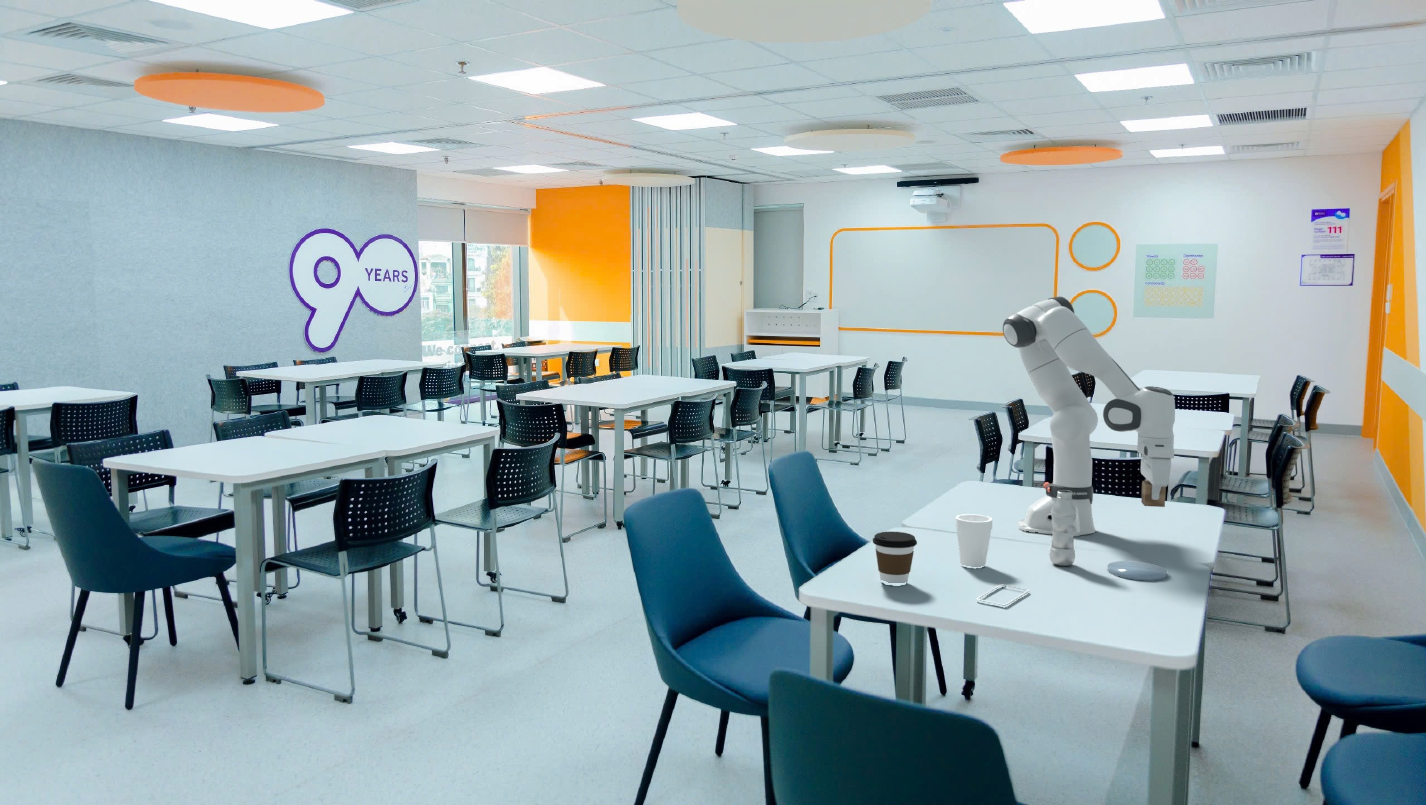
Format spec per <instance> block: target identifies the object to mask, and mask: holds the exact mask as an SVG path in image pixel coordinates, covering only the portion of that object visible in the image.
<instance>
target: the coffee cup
mask: <svg viewBox="0 0 1426 805" xmlns="http://www.w3.org/2000/svg"><path fill="white" fill-rule="evenodd" d="M873 536H874V537H873V538H872V544H874V545H875V554H876V555H875V556H876V562H877V567H878V572H879V578H880V581H881V580H883V581H886V582H888V583H905V582H907V583H908V581H909V574H910V572H911V570H912V563H913V558H914V552H915V551H914V547H915V546H917V545H918V541H917V539H916V537H915V535H913V534H911V533H908V532H902V531H882V532H878V533H875V534H874V535H873Z"/></svg>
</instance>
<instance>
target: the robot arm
mask: <svg viewBox="0 0 1426 805" xmlns="http://www.w3.org/2000/svg"><path fill="white" fill-rule="evenodd" d="M1002 334H1003V336H1004V338H1005V340H1006V342H1007V343H1008V344H1010V345H1011V346H1012V347H1014V348H1018V351H1019V354H1020V357H1021V360H1022V362H1023V365H1024V367H1025V370H1026V372H1027V374H1028V375H1029V378H1030V380H1031V381H1032V384H1033V386H1034V388H1035V390H1036V392H1037V394H1038V396H1040V398H1041V399H1042V400H1043V401H1044V403H1045V404H1046V405H1047V406H1048V408H1049V409H1050V410H1051V412H1052V413H1053V414H1052V416H1051V419H1050V421H1049V429H1050V434H1051V436H1050V437H1051V446H1052V452H1053V476H1052V477H1053V480H1052V483H1049V482H1048V481H1047V482H1044V483H1043V488H1044V489H1045V495H1044V496H1041V497H1040V498H1039V499H1037V500H1036V501H1034V502H1032V503H1031V504H1030V505H1029V506H1028V508H1027V510H1026V513H1025V518H1024V519H1023V518H1022V519H1020V520H1019V521H1018V522H1017V526H1019V527H1018V529H1019V530H1021V531H1023V530H1024V531H1023V532H1026V531H1029V532H1028V533H1035V532H1038V533H1037V534H1046V535H1053V523H1052V514H1051V510H1052V507H1053V505H1054V504H1055V503H1056V501H1057V500H1058V498H1057V492H1058V490H1067V491H1071V492H1072V499H1071V502H1072V503H1073V505H1074V506H1075V508H1076V511H1077V513H1076V519H1075V525H1074V531H1073V532H1074V535H1073V537H1079V536H1083V535H1090V534H1094V533H1095V532H1096V528H1095V525H1094V524H1095V523H1094V518H1093V511H1092V510H1093V508H1092V504H1093V501H1094V487H1093V485H1092V478H1093V458H1092V452H1091V451H1092V450H1091V440H1090V437H1091V434H1093V433H1094V431H1095V430H1096V429H1097V426H1098V423H1099V418H1098V413H1097V411H1096V409H1095V408H1094V407H1093V406H1092V404H1091V403H1090V401H1089V399H1088V398H1087V397H1086V395H1085V393H1084V392H1083V391H1082V389H1081V388H1080V387H1079V385H1078V384H1077V382H1076V381H1075V378H1073V375H1072V373H1071V372H1070V370H1074V371H1077V372H1081V373H1085V374H1087V375H1090V376H1093V377H1095V378H1097V379H1098V380H1099V381H1101V382H1102V383H1103V384H1104V385H1105V387H1106V388H1107V389H1108V390H1109V391H1110V392H1111V394H1113V396H1114V397H1115V398H1113V399H1111V400H1110V401H1108V402H1107V403H1106V404H1105V406H1104V407H1103V412H1102V416H1103V420H1104V423H1105V425H1106V426H1107V427H1108V428H1109V429H1110V430H1112V431H1115V432H1120V433H1127V432H1133V431H1136V432H1137V448H1136V449H1137V451H1136V452H1137V453H1139V454H1141V458H1140V473H1141V475H1142V476H1143V477H1144V478H1145V481H1149V482H1150V483H1151V484H1152V492H1151V498H1152V499H1153V500H1158V499H1159V493H1160V490H1161V487H1168V485H1169V483H1170V476H1171V468H1172V459H1174V458H1175V450H1174V447H1175V446H1174V444H1175V442H1174V441H1175V434H1174V430H1173V429H1174V424H1175V420H1176V404H1175V403H1176V402H1175V401H1176V400H1175V397H1174V394H1173V393H1172V391H1170V390H1169V389H1167V388H1164V387H1159V386H1153V385H1152V386H1144V387H1142V388H1139V387H1138V386H1137V384H1136V383H1135V382H1134V381H1133V380H1132V379H1131V378H1130V377H1129V375H1128V374H1127V373H1126V372H1125V371H1124V370H1123V368H1122V367H1121V366H1120V365H1119V363H1117V362H1116V361H1115V359H1113V358H1112V356H1110V354H1108V352H1107V351H1106V350H1105V349H1104V347H1102V345H1101V344H1100V343H1099V342H1098V340H1097V339H1096V337H1095V336H1094V335H1093V334H1092V332H1091V331H1090V329H1089V328H1088V327H1087V326H1086V325H1085V323H1084V322H1083V321H1082V320H1081V319H1080V318H1079V317H1078V316H1077V315H1076V313H1075V309H1074V306H1073V305H1072V303H1071V302H1070V301H1069V300H1068V299H1067V298H1065V297H1063V296H1054V297H1053V296H1052V297H1049V298H1048V299H1045V300H1042V301H1039V302H1036V303H1033V304H1031V305H1029V306H1027V307H1025V308H1023V309H1021V310H1020V311H1018V312H1016V313H1012V314H1010V315H1009V316H1008V317H1007V318H1006V319H1005V320H1004V321H1003V323H1002ZM1069 369H1070V370H1069Z"/></svg>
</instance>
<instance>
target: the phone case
mask: <svg viewBox="0 0 1426 805" xmlns="http://www.w3.org/2000/svg"><path fill="white" fill-rule="evenodd" d="M999 586H1008V587H1007V588H1012V589H1016V590H1021V589H1022V591H1025V590H1026V592H1023V593H1021V594H1019V595H1017V596H1016V597H1015V598H1012V599H1011V600H1009V601H1008V602H1006V603H999V602H994V601H989V600H986V599H985V600H984V599H981V597H982V598H984V597H985V596H986V594H988V593H989V592H991V591H993V590H994V589H997V588H998V587H999ZM1028 592H1029V593H1030V589H1027V588H1021V587H1016V586H1012V585H1006V584H999V585H997V586H995V587H993V588H992V589H990V590H989V591H987V592H985V593H983V594H981V595H980V596H978V597H976V599H975V600H980V601H983V602H988V603H994V604H998V605H1002V606H1006V605H1008V604H1010V603H1012V602H1014V601H1015V600H1017V599H1018V598H1020V597H1022V596H1023V595H1025V594H1027V593H1028ZM984 595H985V596H984ZM983 596H984V597H983ZM979 598H980V599H979Z"/></svg>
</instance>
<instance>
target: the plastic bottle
mask: <svg viewBox="0 0 1426 805" xmlns="http://www.w3.org/2000/svg"><path fill="white" fill-rule="evenodd" d="M1057 498H1058V500H1057V501H1056V503H1055V504H1054V505H1053V507H1052V510H1051V514H1052V523H1053V534H1052V536H1051V537H1052V538H1051V546H1050V550H1049V555H1048V556H1049V560H1050V562H1051V564H1054V565H1056V566H1063V567H1064V566H1066V567H1068V566H1071V565H1073V564H1074V563H1075V559H1076V553H1075V552H1076V550H1075V543H1074V539H1075V538H1074V536H1073V535H1074V532H1073V531H1074V525H1075V519H1076V513H1077V511H1076V508H1075V506H1074V505H1073V503H1072V502H1071V499H1072V492H1071V491H1067V490H1058V492H1057Z"/></svg>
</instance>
